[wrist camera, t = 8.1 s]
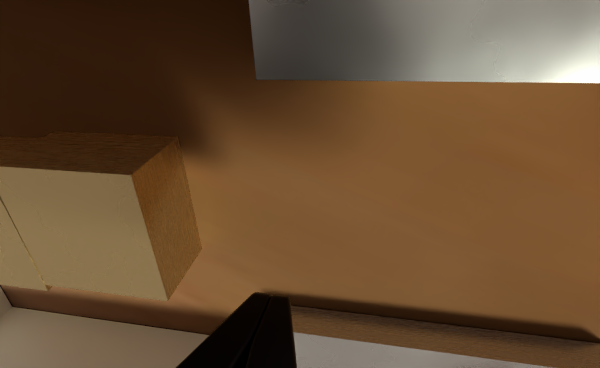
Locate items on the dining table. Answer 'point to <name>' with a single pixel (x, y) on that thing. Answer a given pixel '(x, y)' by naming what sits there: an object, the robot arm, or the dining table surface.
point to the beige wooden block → (15, 238)
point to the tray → (86, 341)
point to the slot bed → (426, 67)
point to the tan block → (103, 211)
